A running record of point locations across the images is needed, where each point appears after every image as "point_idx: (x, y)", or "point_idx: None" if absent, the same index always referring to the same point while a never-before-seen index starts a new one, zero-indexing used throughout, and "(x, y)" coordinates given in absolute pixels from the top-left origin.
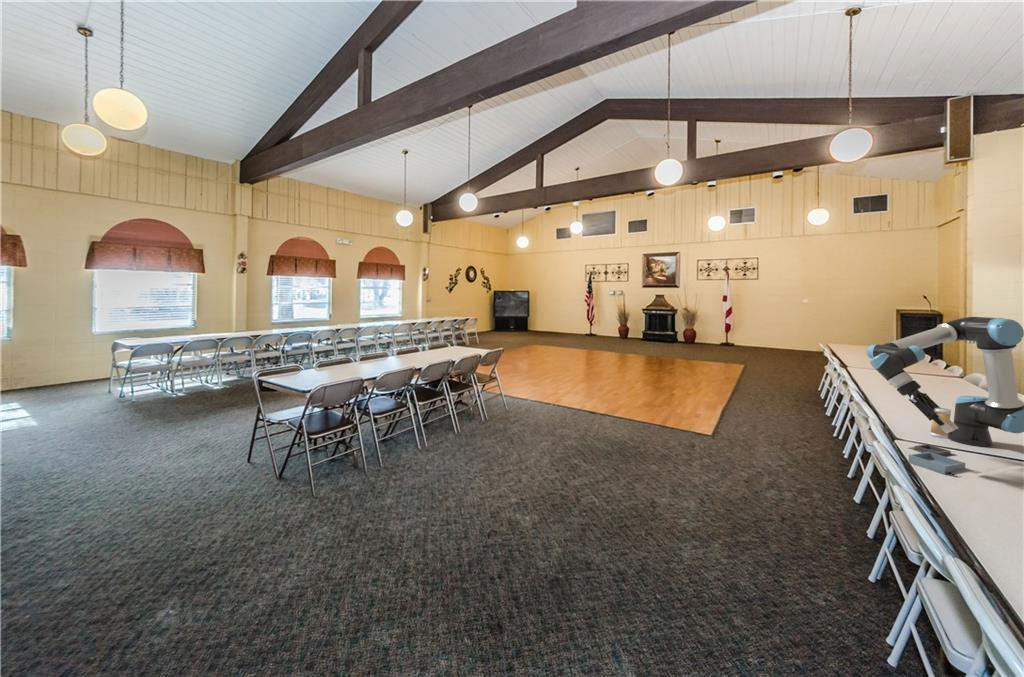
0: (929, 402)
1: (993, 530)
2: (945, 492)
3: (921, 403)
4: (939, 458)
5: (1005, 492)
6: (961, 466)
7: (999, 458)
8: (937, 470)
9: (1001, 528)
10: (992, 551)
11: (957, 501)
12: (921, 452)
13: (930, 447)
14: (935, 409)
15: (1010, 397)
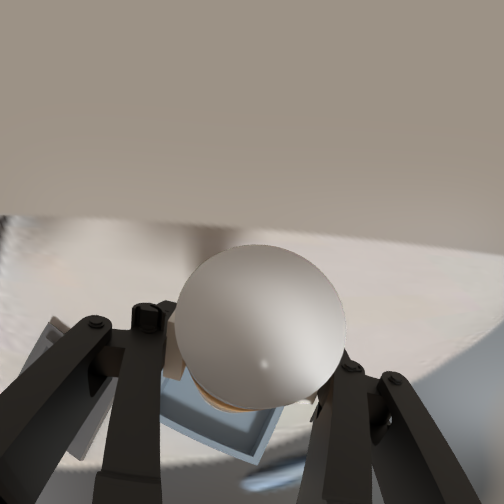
0: (159, 476)
1: (493, 272)
2: (428, 341)
3: (470, 491)
4: (166, 379)
5: (308, 247)
6: None
7: (8, 238)
8: None
9: (482, 264)
10: None
11: (451, 317)
12: (97, 424)
13: None
14: (321, 385)
15: None
